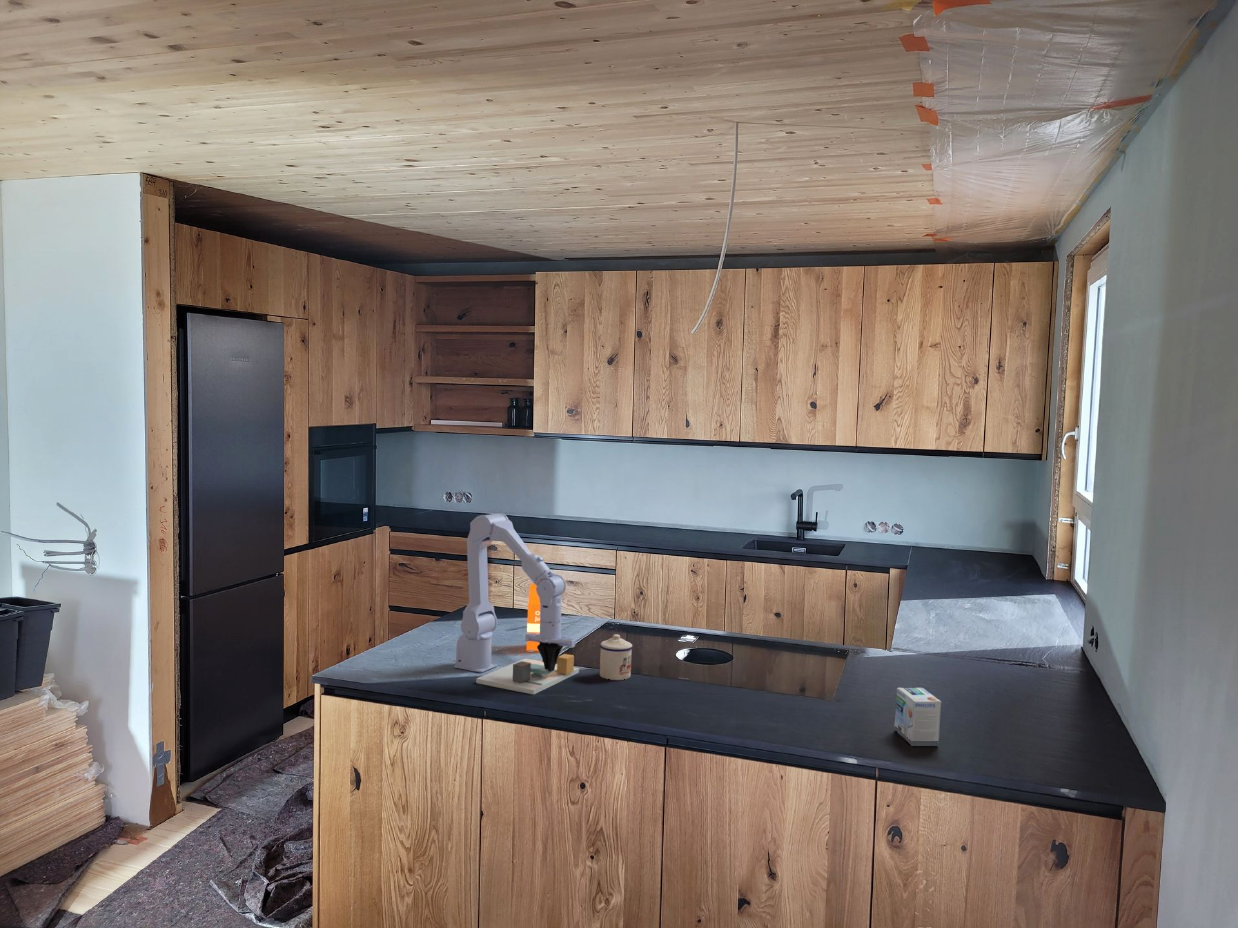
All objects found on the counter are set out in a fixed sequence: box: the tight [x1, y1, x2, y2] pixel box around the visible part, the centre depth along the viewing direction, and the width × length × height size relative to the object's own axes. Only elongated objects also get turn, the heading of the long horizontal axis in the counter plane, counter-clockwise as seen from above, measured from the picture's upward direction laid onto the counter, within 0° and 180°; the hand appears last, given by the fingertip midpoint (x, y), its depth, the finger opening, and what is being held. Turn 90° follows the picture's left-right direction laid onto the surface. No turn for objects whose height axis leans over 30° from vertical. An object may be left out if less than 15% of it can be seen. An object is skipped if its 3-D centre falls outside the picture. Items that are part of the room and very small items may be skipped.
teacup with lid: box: [599, 633, 633, 681], centre depth 257 cm, size 12×9×12 cm
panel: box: [475, 658, 580, 696], centre depth 252 cm, size 18×24×2 cm
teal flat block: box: [530, 664, 555, 675], centre depth 250 cm, size 8×4×1 cm, turn 63°
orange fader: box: [556, 653, 575, 675], centre depth 253 cm, size 3×4×4 cm
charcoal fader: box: [512, 661, 531, 683], centre depth 244 cm, size 3×4×4 cm
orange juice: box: [526, 583, 540, 651], centre depth 282 cm, size 8×9×20 cm
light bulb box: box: [894, 687, 942, 741], centre depth 214 cm, size 11×7×11 cm, turn 5°
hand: (549, 670), depth 248 cm, fingers closed, pressing on teal flat block
